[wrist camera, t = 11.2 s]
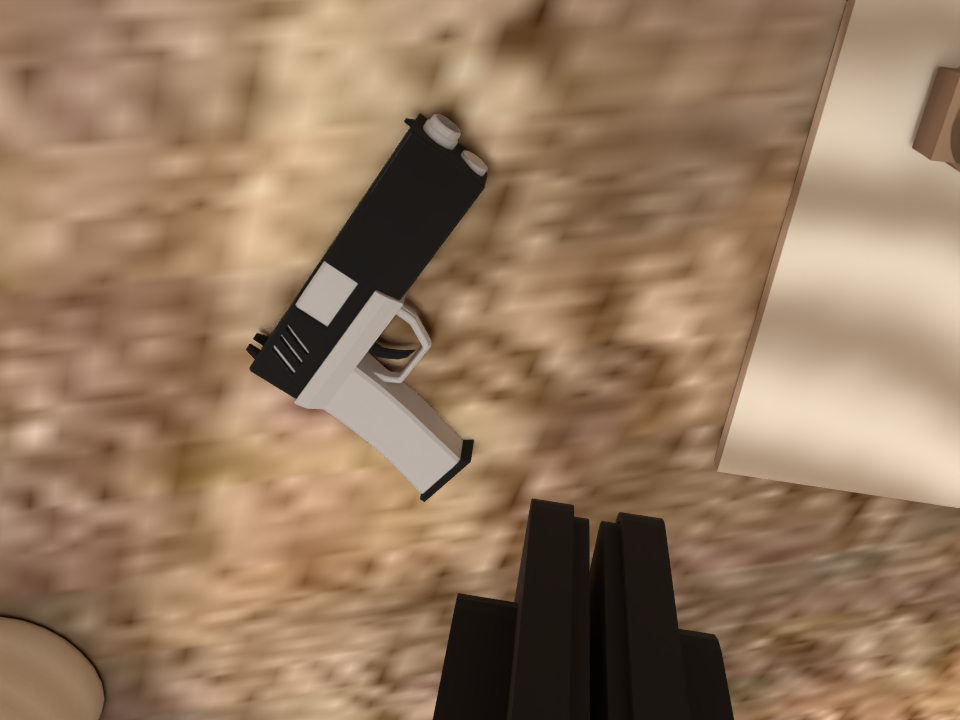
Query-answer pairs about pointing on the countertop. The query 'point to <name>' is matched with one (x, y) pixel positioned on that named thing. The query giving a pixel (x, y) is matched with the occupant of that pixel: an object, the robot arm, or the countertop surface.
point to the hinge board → (863, 282)
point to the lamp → (45, 676)
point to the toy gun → (380, 307)
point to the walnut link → (941, 120)
